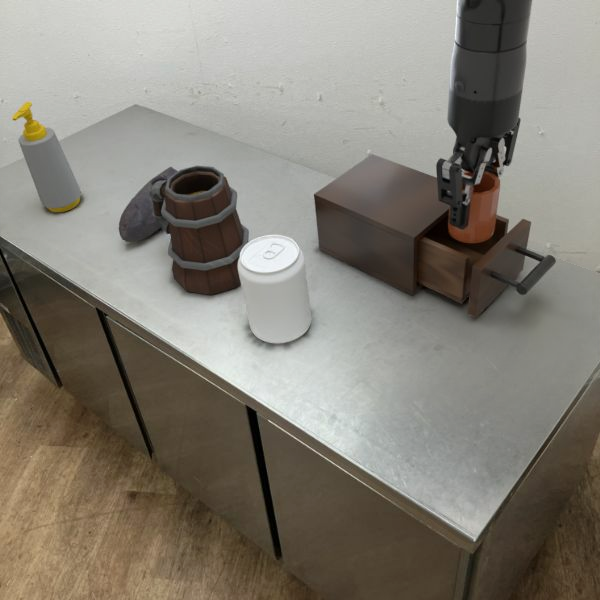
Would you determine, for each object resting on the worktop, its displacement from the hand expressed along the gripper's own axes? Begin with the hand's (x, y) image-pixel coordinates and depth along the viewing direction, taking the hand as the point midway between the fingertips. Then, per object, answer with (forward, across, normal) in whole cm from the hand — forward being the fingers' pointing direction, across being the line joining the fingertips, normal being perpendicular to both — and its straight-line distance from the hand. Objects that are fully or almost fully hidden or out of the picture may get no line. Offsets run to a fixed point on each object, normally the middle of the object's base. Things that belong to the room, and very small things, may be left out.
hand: (472, 213), depth 79 cm
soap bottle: (+12, -23, +66) cm, 70 cm away
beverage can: (+12, -21, +14) cm, 28 cm away
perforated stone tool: (+12, -17, +46) cm, 51 cm away
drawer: (+11, 0, 0) cm, 11 cm away
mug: (+12, -19, +32) cm, 39 cm away
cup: (+3, 0, 0) cm, 3 cm away
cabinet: (+12, 0, +12) cm, 17 cm away
